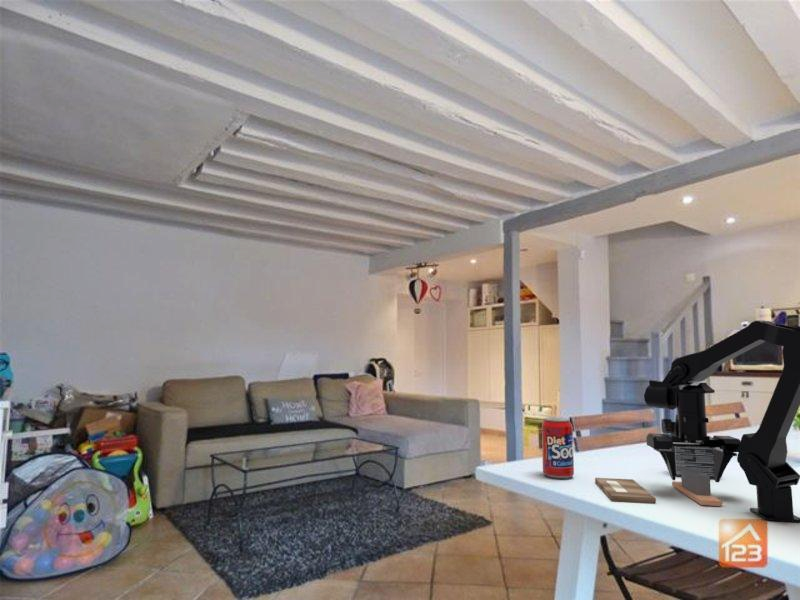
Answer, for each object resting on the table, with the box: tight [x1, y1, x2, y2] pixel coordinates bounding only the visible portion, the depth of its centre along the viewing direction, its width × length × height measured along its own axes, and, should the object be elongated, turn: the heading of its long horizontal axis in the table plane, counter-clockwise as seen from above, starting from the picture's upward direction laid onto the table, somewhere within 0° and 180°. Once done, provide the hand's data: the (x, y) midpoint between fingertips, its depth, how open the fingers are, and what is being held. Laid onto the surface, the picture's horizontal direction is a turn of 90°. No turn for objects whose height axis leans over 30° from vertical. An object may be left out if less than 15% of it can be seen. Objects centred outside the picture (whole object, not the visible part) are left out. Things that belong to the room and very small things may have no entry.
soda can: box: [541, 416, 575, 480], centre depth 131 cm, size 8×8×15 cm
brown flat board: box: [594, 477, 657, 504], centre depth 116 cm, size 16×9×1 cm, turn 171°
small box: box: [666, 433, 715, 480], centre depth 133 cm, size 11×6×10 cm, turn 74°
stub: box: [671, 467, 723, 507], centre depth 114 cm, size 16×4×5 cm, turn 171°
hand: (695, 481), depth 114 cm, fingers open, 9 cm apart
